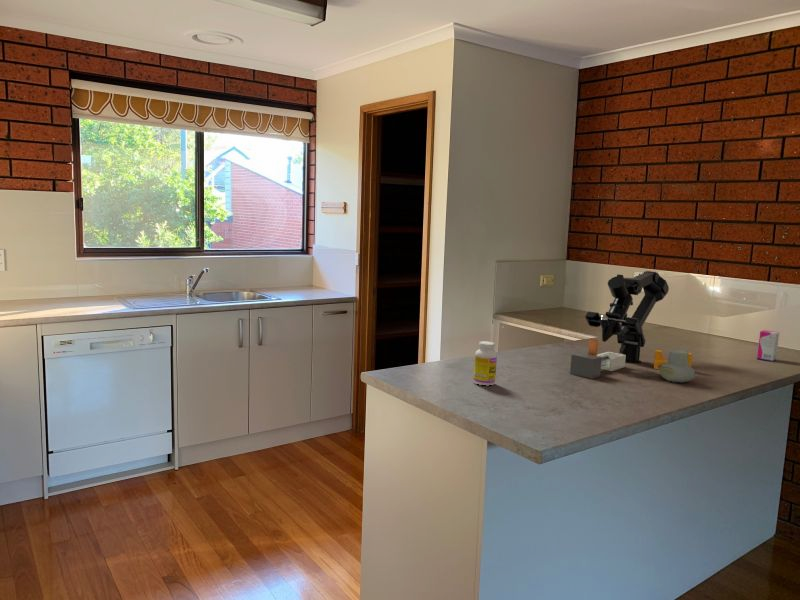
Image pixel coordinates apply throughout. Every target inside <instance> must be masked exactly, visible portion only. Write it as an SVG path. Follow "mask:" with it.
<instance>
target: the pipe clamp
mask: <svg viewBox="0 0 800 600" xmlns="http://www.w3.org/2000/svg"><path fill="white" fill-rule="evenodd" d="M654 350H655V352H654V358H653V368H654V370H656V369H659V368H660V366H661V365H662V364H664V363H666V362H668V360H666V359H665V358H664V356H663V351H662V350H660V349H654ZM688 353H689V355H688V365H689V366H691V367H692V361H693V354H692V353H691V352H688Z"/></svg>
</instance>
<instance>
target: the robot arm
mask: <svg viewBox="0 0 800 600" xmlns="http://www.w3.org/2000/svg"><path fill="white" fill-rule="evenodd" d="M607 286H608V289H609V291H610V294H611V296H612V298H614V299H613V302H610V304H609V307H610V308H609V309H608V311H606V312H605V313H604V315H605V316H604V315H601V316H600V314H599V312H598V311H597V312H596V311H587V312H586V314H585V316H584V318H585V320H586V322H587V324H588V326H590V327H592V328H593V327H594V328H599V327H601V337H602V338H601V341H602V342H604V343H605V342H607V341H608V340H609V339H611V337H612V336H617V344H620V347H619V352H618V353H619V354H624V355H626V359H625V363H642V360H640V355H641V348H644V347H645V344H646V339H645V335H644V330H643V326H644V324H645V322H646V320H647V319H648V317H649V315H650V313H651V311H652V310H653V308H654V306H655V304H656V303H658V302H660V301H662V300H663V299H664V298H665V297H666V296H667V295H668V294H669V290H670V289H669V284H668V282H667V280H665V279H664V278H663V277H662V276H660V274H659V272H657V271H651V270H646V271H643V272H642V273H640V274H638V275H636V276H634V277H625V276H624V275H623V274H620V273H619V274H617V275H616V276H613V277H611V278H610V279H608V281H607ZM642 291H643V294H644V296H643V297H642V299H641V301H640V303H639V304H638V306H637V307H636V309H635V311H634V313H632V316H631V317H628V311H629V309H630V306H633V305H634V302H633V300H634V299H633V296H638V295H640V293H642ZM632 295H633V296H632Z"/></svg>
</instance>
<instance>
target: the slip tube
mask: <svg viewBox="0 0 800 600" xmlns="http://www.w3.org/2000/svg"><path fill="white" fill-rule="evenodd" d="M588 342H589V343H588V351H587V352H588V353H587V354H590V355H595V356H597V355H598V347H599V340H598V339H593V338H592V339H589V341H588ZM600 357H602V360H601V367H603V366H606V365H609V364H610V358H609V357H608V356H607V355H604V356H600Z"/></svg>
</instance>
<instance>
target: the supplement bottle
mask: <svg viewBox="0 0 800 600" xmlns="http://www.w3.org/2000/svg"><path fill="white" fill-rule="evenodd" d="M495 346H496V345H495V342H493V341H487V340H486V341H482V340H481V341H479V343H478V347H479V348H478V350H476V351H475V354H474V365H473V367H474V368H473V384H475V385H477V384H479V385H478V386H481V385H486V386H485V387H490V386H489V385H492V386H494V385H495V383H496V377H497V375H496V373H497V363H498V362H497V360H498V359H497V358H498V354H497V352H496V351H494V348H495Z"/></svg>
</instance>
